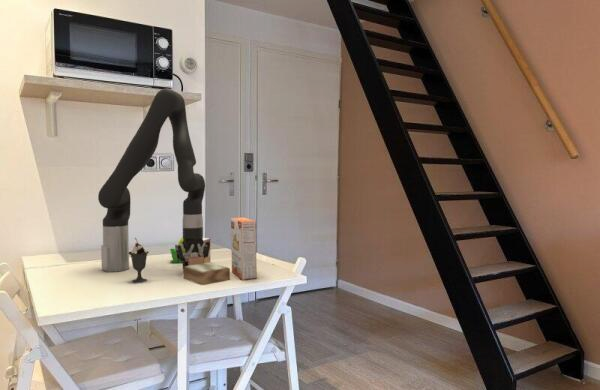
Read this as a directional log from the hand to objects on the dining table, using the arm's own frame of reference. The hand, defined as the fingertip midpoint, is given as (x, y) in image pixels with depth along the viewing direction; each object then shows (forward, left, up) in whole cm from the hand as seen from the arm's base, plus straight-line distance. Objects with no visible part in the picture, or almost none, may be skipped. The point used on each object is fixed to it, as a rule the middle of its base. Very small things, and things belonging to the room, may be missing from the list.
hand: (193, 269), depth 169 cm
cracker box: (+11, -18, -1) cm, 21 cm away
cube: (0, 0, -1) cm, 1 cm away
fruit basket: (+7, +20, -1) cm, 21 cm away
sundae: (-21, 0, -1) cm, 21 cm away
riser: (-2, -13, -1) cm, 13 cm away
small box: (+9, +10, -1) cm, 13 cm away
